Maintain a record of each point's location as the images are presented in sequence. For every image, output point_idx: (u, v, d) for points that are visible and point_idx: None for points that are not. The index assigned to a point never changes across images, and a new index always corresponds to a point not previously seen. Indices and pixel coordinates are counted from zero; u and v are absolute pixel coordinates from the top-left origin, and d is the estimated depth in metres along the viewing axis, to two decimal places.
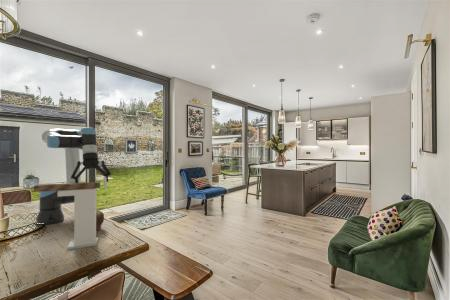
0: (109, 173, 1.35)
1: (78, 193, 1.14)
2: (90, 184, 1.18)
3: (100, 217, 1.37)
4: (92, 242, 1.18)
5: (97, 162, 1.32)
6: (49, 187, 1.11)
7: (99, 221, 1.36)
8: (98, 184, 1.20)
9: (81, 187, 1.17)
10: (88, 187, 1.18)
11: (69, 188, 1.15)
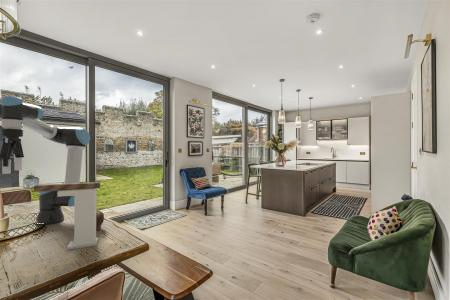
0: (22, 154, 1.18)
1: (78, 193, 1.14)
2: (90, 184, 1.18)
3: (100, 217, 1.37)
4: (92, 242, 1.18)
5: (18, 140, 1.13)
6: (49, 187, 1.11)
7: (99, 221, 1.36)
8: (98, 184, 1.20)
9: (81, 187, 1.17)
10: (88, 187, 1.18)
11: (69, 188, 1.15)
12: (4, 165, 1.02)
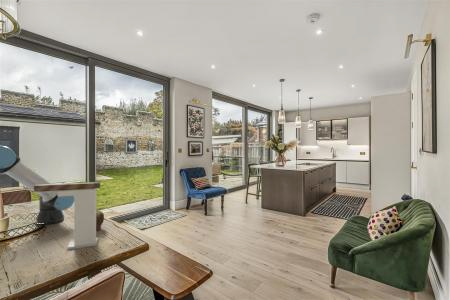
0: None
1: (78, 193, 1.14)
2: (90, 184, 1.18)
3: (100, 217, 1.37)
4: (92, 242, 1.18)
5: None
6: (49, 187, 1.11)
7: (99, 221, 1.36)
8: (98, 184, 1.20)
9: (81, 187, 1.17)
10: (88, 187, 1.18)
11: (69, 188, 1.15)
12: None
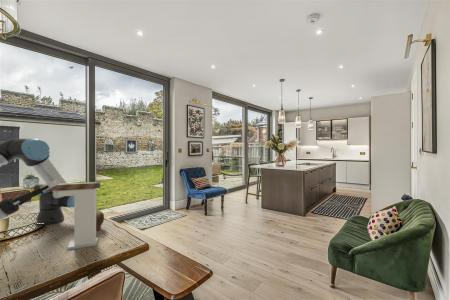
0: None
1: (78, 193, 1.14)
2: (90, 184, 1.18)
3: (100, 217, 1.37)
4: (92, 242, 1.18)
5: None
6: None
7: (99, 221, 1.36)
8: (98, 184, 1.20)
9: (81, 187, 1.17)
10: (88, 187, 1.18)
11: (69, 188, 1.15)
12: (46, 187, 1.09)
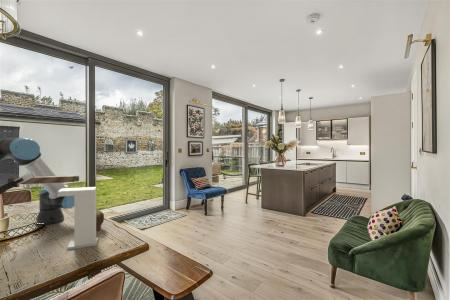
0: None
1: (78, 193, 1.14)
2: (68, 177, 1.14)
3: (100, 217, 1.37)
4: (92, 242, 1.18)
5: None
6: None
7: (99, 221, 1.36)
8: (77, 177, 1.16)
9: (58, 180, 1.13)
10: (66, 180, 1.14)
11: (45, 181, 1.11)
12: (21, 180, 1.05)
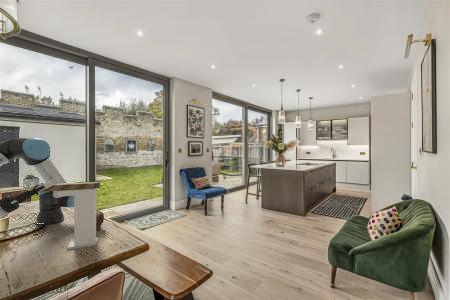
0: None
1: (78, 193, 1.14)
2: (90, 184, 1.18)
3: (100, 217, 1.37)
4: (92, 242, 1.18)
5: None
6: (49, 187, 1.11)
7: (99, 221, 1.36)
8: (98, 184, 1.20)
9: (81, 187, 1.17)
10: (88, 187, 1.18)
11: (69, 188, 1.15)
12: (42, 187, 1.06)
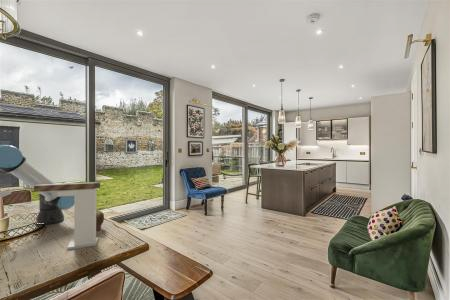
0: None
1: (78, 193, 1.14)
2: (90, 184, 1.18)
3: (100, 217, 1.37)
4: (92, 242, 1.18)
5: None
6: (49, 187, 1.11)
7: (99, 221, 1.36)
8: (98, 184, 1.20)
9: (81, 187, 1.17)
10: (88, 187, 1.18)
11: (69, 188, 1.15)
12: None
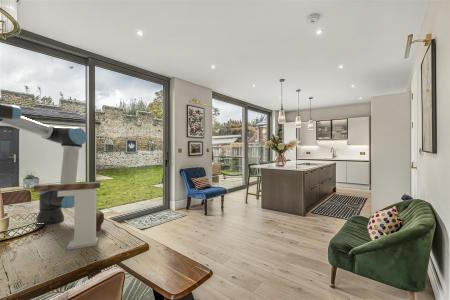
0: None
1: (78, 193, 1.14)
2: (90, 184, 1.18)
3: (100, 217, 1.37)
4: (92, 242, 1.18)
5: None
6: (49, 187, 1.11)
7: (99, 221, 1.36)
8: (98, 184, 1.20)
9: (81, 187, 1.17)
10: (88, 187, 1.18)
11: (69, 188, 1.15)
12: None
